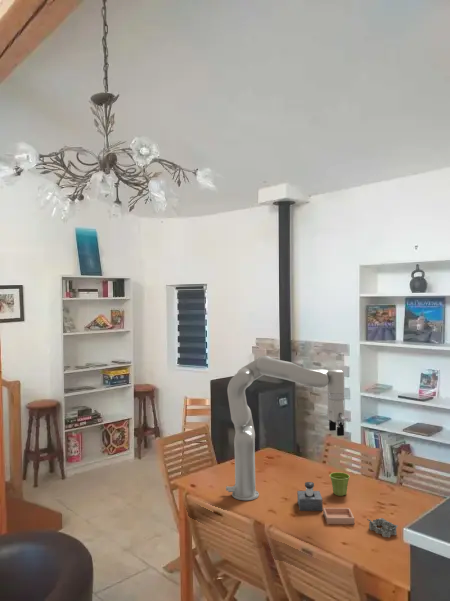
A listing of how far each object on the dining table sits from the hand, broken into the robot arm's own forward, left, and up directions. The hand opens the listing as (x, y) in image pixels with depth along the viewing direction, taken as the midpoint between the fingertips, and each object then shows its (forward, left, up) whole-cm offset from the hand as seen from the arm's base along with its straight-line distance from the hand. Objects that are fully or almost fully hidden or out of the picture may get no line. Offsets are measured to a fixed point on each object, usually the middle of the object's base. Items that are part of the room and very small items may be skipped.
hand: (336, 432), depth 233 cm
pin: (-14, -11, -30) cm, 35 cm away
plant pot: (+2, +4, -30) cm, 31 cm away
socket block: (-14, -11, -30) cm, 35 cm away
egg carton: (+12, -35, -31) cm, 48 cm away
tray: (-4, -24, -30) cm, 38 cm away
